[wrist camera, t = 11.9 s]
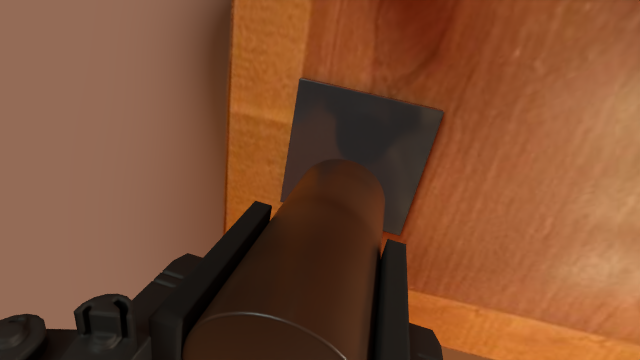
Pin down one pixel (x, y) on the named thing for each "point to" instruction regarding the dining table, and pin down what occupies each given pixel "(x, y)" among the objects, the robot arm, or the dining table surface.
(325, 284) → the dark brown cylinder
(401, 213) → the coaster
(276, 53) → the dining table surface
